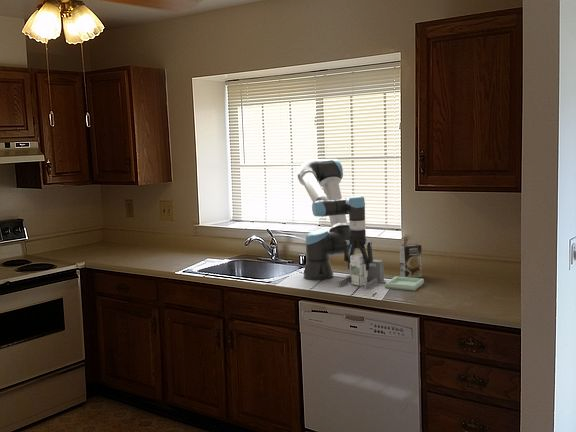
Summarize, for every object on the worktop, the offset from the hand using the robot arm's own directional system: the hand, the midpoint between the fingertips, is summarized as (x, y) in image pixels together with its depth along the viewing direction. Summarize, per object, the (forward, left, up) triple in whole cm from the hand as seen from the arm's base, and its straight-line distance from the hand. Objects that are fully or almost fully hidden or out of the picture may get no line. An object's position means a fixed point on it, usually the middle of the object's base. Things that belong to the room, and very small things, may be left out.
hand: (358, 276), depth 291 cm
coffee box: (+18, +23, -4) cm, 30 cm away
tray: (+21, +5, -4) cm, 22 cm away
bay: (0, +2, -4) cm, 5 cm away
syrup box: (0, 0, -4) cm, 4 cm away
